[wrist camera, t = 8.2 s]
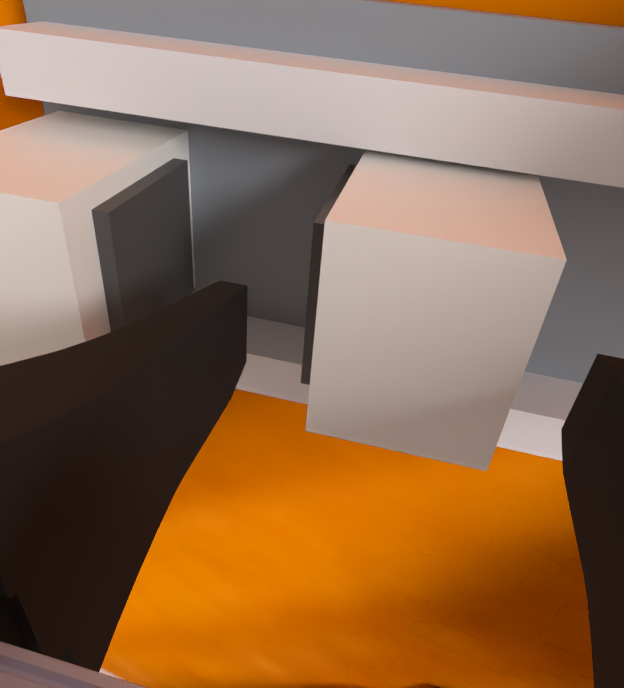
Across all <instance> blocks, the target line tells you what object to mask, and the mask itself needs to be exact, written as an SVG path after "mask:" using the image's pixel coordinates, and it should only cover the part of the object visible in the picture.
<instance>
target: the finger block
mask: <svg viewBox="0 0 624 688" xmlns="http://www.w3.org/2000/svg"><path fill="white" fill-rule="evenodd" d="M566 261H567V259H566V256H565V253H564V250H563V247H562V244H561V241H560V239H559V236H558V233H557V230H556V227H555V224H554V221H553V218H552V215H551V212H550V209H549V206H548V204H547V201H546V198H545V195H544V192H543V189H542V186H541V183H540V180H539V177H538V175H535V174H528V173H521V172H514V171H508V170H501V169H494V168H488V167H481V166H474V165H468V164H461V163H454V162H448V161H441V160H434V159H428V158H421V157H414V156H408V155H401V154H394V153H387V152H381V151H374V150H367V149H366V150H365V152H364V154H363V156H362V157H361V159H360V161H359V163H358V164H357V165H352V164H350V165H349V166H348V168H347V169H346V171H345V173H344V174H343V176H342V177H341V179H340V181H339V182H338V184H337V186H336V187H335V189H334V190H333V192H332V194H331V195H330V197H329V198H328V200H327V202H326V203H325V205H324V206H323V208H322V210H321V211H320V213H319V215H318V216H317V218H316V219H315V221H314V223H313V235H312V247H311V260H310V272H309V284H308V297H307V309H306V322H305V334H304V347H303V359H302V372H301V383H303V384H308V385H310V387H309V397H308V408H307V419H306V430H305V431H309V432H313V433H317V434H322V435H326V436H331V437H335V438H340V439H344V440H349V441H353V442H358V443H362V444H367V445H371V446H376V447H380V448H385V449H389V450H394V451H398V452H403V453H407V454H412V455H416V456H421V457H425V458H430V459H434V460H439V461H443V462H448V463H452V464H457V465H461V466H466V467H470V468H475V469H479V470H484V471H487V469H488V466H489V464H490V461H491V458H492V456H493V453H494V450H495V448H496V445H497V443H498V440H499V437H500V435H501V432H502V429H503V427H504V424H505V421H506V419H507V416H508V414H509V411H510V408H511V406H512V403H513V400H514V398H515V395H516V392H517V390H518V387H519V385H520V382H521V379H522V377H523V374H524V371H525V369H526V366H527V363H528V361H529V358H530V356H531V353H532V350H533V348H534V345H535V342H536V340H537V337H538V334H539V332H540V329H541V327H542V324H543V321H544V319H545V316H546V313H547V311H548V308H549V305H550V303H551V300H552V298H553V295H554V292H555V290H556V287H557V284H558V282H559V279H560V276H561V274H562V271H563V269H564V266H565V263H566Z"/></svg>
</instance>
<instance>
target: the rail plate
mask: <svg viewBox="0 0 624 688" xmlns="http://www.w3.org/2000/svg"><path fill="white" fill-rule="evenodd" d="M23 4H24V9H25V14H26V20H27V23H24V24H15V25H6V26H0V73H1V77H2V82H3V86H4V90H5V95H6V96H13V97H20V98H27V99H33V100H40V101H42V104H43V109H44V114H45V116H42V117H39V118H36V119H33V120H30V121H27V122H24V123H21V124H18V125H15V126H12V127H9V128H6V129H3V130H0V366H1V365H6V364H10V363H13V362H17V361H21V360H25V359H29V358H33V357H36V356H40V355H44V354H48V353H52V352H55V351H58V350H62V349H65V348H68V347H71V346H74V345H77V344H80V343H83V342H86V341H89V340H91V339H94V338H97V337H99V336H102V335H105V334H107V333H110V332H112V331H114V330H117V329H119V328H121V327H124V326H126V325H128V324H130V323H133V322H135V321H137V320H139V319H142V318H144V317H146V316H149V315H151V314H153V313H155V312H157V311H159V310H161V309H163V308H165V307H167V306H169V305H171V304H173V303H175V302H177V301H179V300H181V299H183V298H185V297H187V296H189V295H191V294H193V293H195V292H197V291H199V290H201V289H203V288H205V287H207V286H209V285H211V284H213V283H216V282H218V281H226V282H232V283H237V284H242V285H247V286H248V292H247V361H246V364H245V366H244V369H243V371H242V374H241V376H240V379H239V381H238V383H237V386H236V388H235V389H239V390H244V391H249V392H253V393H258V394H262V395H267V396H271V397H276V398H280V399H285V400H289V401H294V402H298V403H303V404H307V405H308V397H309V387H310V385H308V384H303V383H301V372H302V359H303V347H304V334H305V322H306V309H307V297H308V284H309V272H310V260H311V247H312V235H313V223H314V221H315V219H316V218H317V216H318V215H319V213H320V211H321V210H322V208H323V206H324V205H325V203H326V202H327V200H328V198H329V197H330V195H331V194H332V192H333V190H334V189H335V187H336V186H337V184H338V182H339V181H340V179H341V177H342V176H343V174H344V173H345V171H346V169H347V168H348V166H349V165H350V164H352V165H357V164H358V163H359V161H360V159H361V157H362V156H363V154H364V152H365V150H366V149H367V150H374V151H381V152H387V153H394V154H401V155H408V156H414V157H421V158H428V159H434V160H441V161H448V162H454V163H461V164H468V165H474V166H481V167H488V168H494V169H501V170H508V171H514V172H521V173H528V174H535V175H538V177H539V180H540V183H541V186H542V189H543V192H544V195H545V198H546V201H547V204H548V206H549V209H550V212H551V215H552V218H553V221H554V224H555V227H556V230H557V233H558V236H559V239H560V241H561V244H562V247H563V250H564V253H565V256H566V259H567V261H566V263H565V266H564V269H563V271H562V274H561V276H560V279H559V282H558V284H557V287H556V290H555V292H554V295H553V298H552V300H551V303H550V305H549V308H548V311H547V313H546V316H545V319H544V321H543V324H542V327H541V329H540V332H539V334H538V337H537V340H536V342H535V345H534V348H533V350H532V353H531V356H530V358H529V361H528V363H527V366H526V369H525V371H524V374H523V377H522V379H521V382H520V385H519V387H518V390H517V392H516V395H515V398H514V400H513V403H512V406H511V408H510V411H509V414H508V416H507V419H506V421H505V424H504V427H503V429H502V432H501V435H500V437H499V440H498V443H497V445H496V446H497V447H502V448H506V449H511V450H515V451H520V452H524V453H529V454H533V455H538V456H543V457H547V458H552V459H556V460H561V461H562V437H561V429H562V427H563V425H564V423H565V421H566V418H567V416H568V414H569V412H570V410H571V408H572V406H573V404H574V402H575V400H576V398H577V395H578V393H579V391H580V389H581V387H582V385H583V383H584V381H585V379H586V377H587V374H588V372H589V370H590V368H591V366H592V364H593V362H594V360H595V358H596V356H597V354H602V355H608V356H613V357H618V358H623V359H624V27H620V26H611V25H602V24H593V23H584V22H575V21H566V20H556V19H547V18H538V17H529V16H520V15H511V14H502V13H492V12H483V11H474V10H465V9H456V8H447V7H438V6H428V5H419V4H410V3H401V2H392V1H383V0H23Z"/></svg>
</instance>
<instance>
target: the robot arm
mask: <svg viewBox="0 0 624 688" xmlns="http://www.w3.org/2000/svg"><path fill="white" fill-rule="evenodd" d="M247 292H248V286H247V285H242V284H237V283H232V282H226V281H218V282H216V283H213V284H211V285H209V286H207V287H205V288H203V289H201V290H199V291H197V292H195V293H193V294H191V295H189V296H187V297H185V298H183V299H181V300H179V301H177V302H175V303H173V304H171V305H169V306H167V307H165V308H163V309H161V310H159V311H157V312H155V313H153V314H151V315H149V316H146V317H144V318H142V319H139V320H137V321H135V322H133V323H130V324H128V325H126V326H124V327H121V328H119V329H117V330H114V331H112V332H110V333H107V334H105V335H102V336H99V337H97V338H94V339H91V340H89V341H86V342H83V343H80V344H77V345H74V346H71V347H68V348H65V349H62V350H58V351H55V352H52V353H48V354H44V355H40V356H36V357H33V358H29V359H25V360H21V361H17V362H13V363H10V364H6V365H1V366H0V688H147V687H143V686H140V685H137V684H134V683H131V682H128V681H124V680H121V679H118V678H115V677H112V676H109V675H105V674H102V673H99V670H100V668H101V665H102V663H103V660H104V658H105V655H106V652H107V650H108V647H109V645H110V642H111V639H112V637H113V634H114V632H115V629H116V626H117V624H118V621H119V619H120V617H121V614H122V612H123V609H124V607H125V604H126V602H127V600H128V597H129V595H130V592H131V590H132V587H133V585H134V583H135V580H136V578H137V575H138V573H139V571H140V568H141V566H142V564H143V562H144V559H145V557H146V555H147V553H148V550H149V548H150V546H151V543H152V541H153V539H154V537H155V534H156V532H157V530H158V528H159V526H160V524H161V521H162V519H163V517H164V515H165V513H166V511H167V509H168V506H169V504H170V502H171V500H172V498H173V496H174V494H175V491H176V490H177V488H178V486H179V484H180V482H181V481H182V479H183V477H184V475H185V473H186V472H187V470H188V468H189V467H190V465H191V463H192V462H193V460H194V459H195V457H196V455H197V454H198V452H199V450H200V449H201V447H202V445H203V444H204V442H205V441H206V439H207V437H208V436H209V434H210V432H211V431H212V429H213V427H214V426H215V424H216V422H217V421H218V419H219V417H220V416H221V414H222V412H223V411H224V409H225V407H226V406H227V404H228V402H229V401H230V399H231V397H232V395H233V392H234V390H235V388H236V386H237V383H238V381H239V379H240V376H241V374H242V371H243V369H244V366H245V364H246V361H247ZM561 437H562V461H563V475H564V480H565V485H566V490H567V496H568V501H569V506H570V511H571V516H572V520H573V525H574V530H575V535H576V540H577V544H578V549H579V554H580V559H581V564H582V569H583V573H584V580H585V586H586V592H587V599H588V610H589V621H590V633H591V644H592V658H593V674H594V688H624V359H623V358H618V357H613V356H608V355H602V354H597V356H596V358H595V360H594V362H593V364H592V366H591V368H590V370H589V372H588V374H587V377H586V379H585V381H584V383H583V385H582V387H581V389H580V391H579V393H578V395H577V398H576V400H575V402H574V404H573V406H572V408H571V410H570V412H569V414H568V416H567V418H566V421H565V423H564V425H563V427H562V429H561Z"/></svg>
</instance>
